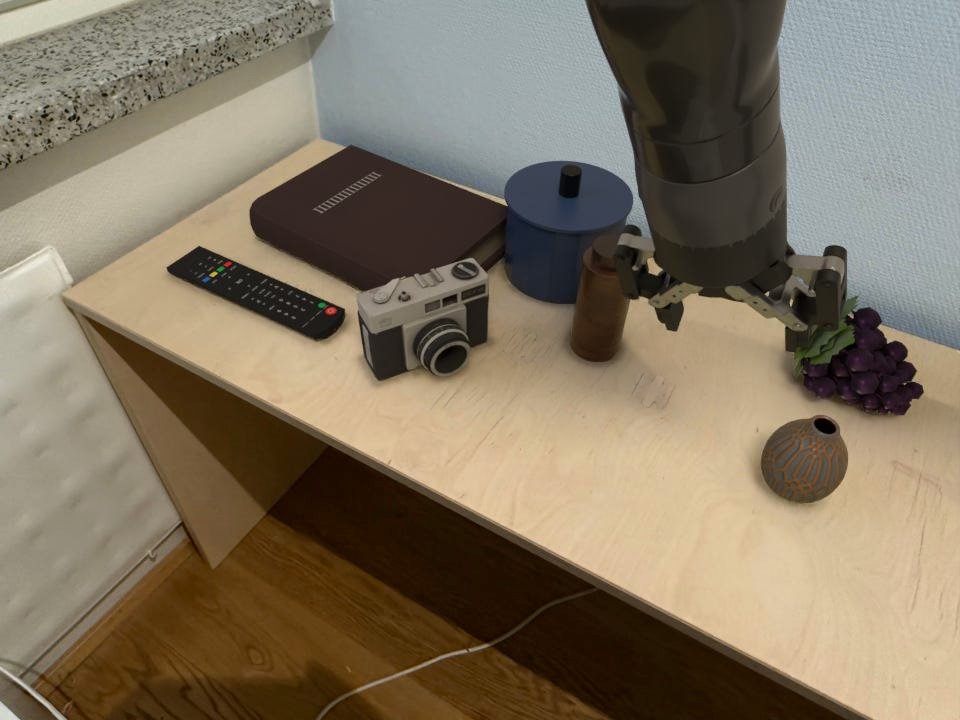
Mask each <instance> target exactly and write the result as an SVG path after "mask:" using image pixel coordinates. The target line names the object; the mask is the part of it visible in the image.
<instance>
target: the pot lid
mask: <svg viewBox="0 0 960 720" xmlns="http://www.w3.org/2000/svg"><path fill="white" fill-rule="evenodd" d="M503 192H504V193H503V195H504V196H503V197H504V201H505V204H506V206H508V207H509V208H510V210H511V211H512V212H513V213H514V214H515V215H516V216H518V217H519V218H520V219H522V220H523V221H525V222H527V223H529V224H531V225H533V226H536V227H539V228H541V229H545V230H549V231H553V232H559V233H568V234H584V233H593V232H598V231H603V230H606V229H609V228H611V227H614V226H616V225H617V224H619V223H621V222H622V221H623V220H624V219H626V218H627V219H628V216H629V215H630V214H631V212H632V210H633V206H634V194H633V191H632V189H631V188H630V185H628V183H627V182H626V181H624V180H623V179H622V178H621V177H620V176H618V175H616V174H615V173H613V172H612V171H610V170H608V169H605V168H603V167H600V166H598V165H595V164H590V163H586V162H582V161H581V162H580V161H572V160H551V161H550V160H549V161H543V162H542V161H541V162H537V163H534V164H530V165H527V166H525V167H523V168H521V169H519V170H517V171H516V172H515V173H513V174H512V175H511V176H510V177H509V178H508V180H507V181H506V184H505V186H504V191H503Z"/></svg>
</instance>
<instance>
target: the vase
mask: <svg viewBox="0 0 960 720" xmlns="http://www.w3.org/2000/svg"><path fill="white" fill-rule="evenodd" d="M848 466H849V450H848V447H847V444H846V443H845V440H844V439H843V437H842V434H841V427H840V425H839V423H838V422H837V420H835V419H834V418H832V417H831V416H829V415H824V414H816V415H814V416H812V417H809V418H808V417H807V418H799V419H793V420H791V421H788V422H786V423H784V424H782V425H780V427H778V428H777V429H776V430H775V431H774V432H773V433H772V434H771V435H770V436H769V437H768V439H767V440H766V442H765V444H764V446H763V449H762V452H761V455H760V471H761V475H762V477H763V479H764V480H763V481H765V483H766V485H767V487H768V488H769V489H770V490H771V491H772V492H773V493H774V494H776V495H777V496H778V497H780V498H781V499H784V500H786V501H788V502H791V503H795V504H812V503H813V504H814V503H816V502H820V501H821V500H823V499H825V498H827V497H829V496H830V495H832V494H833V493H834V492H835V491H836V490H837V489H838V488H839V486H840V485H841V484H842V482H843V480H844V479H845V477H846V475H847V471H848Z"/></svg>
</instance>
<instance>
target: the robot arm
mask: <svg viewBox="0 0 960 720" xmlns="http://www.w3.org/2000/svg"><path fill="white" fill-rule="evenodd" d="M787 1H788V0H584V3H585V6H586V10H587V13H588V15H589V19H590V21H591V24H592V28H593V30H594V33H595V36H596V38H597V40H598V44H599V46H600V48H601V50H602V53H603V55H604V57H605V59H606V62H607V64H608V67H609V69H610V71H611V73H612V75H613V77H614V79H615V81H616V85H617V86H616V87H617V93H618V99H619V103H620V109H621V112H622V115H623V119H624V123H625V127H626V130H627V133H628V137H629V141H630V144H631V148H632V153H633V160H634V161H633V162H634V174H635V175H634V176H635V180H636V181H635V182H636V185H637V194H638V198H639V199H640V201H641V205H642V208H643V212H644V215H645V219H646V222H647V227H648V229H649V232H650V236H651V237H647V236H643V234H642V233H643V232H642V230H641V228H640V227H639V226H637V225H634V224H631V223H630V224H625V226H624V229H623V231H622V234H621V236H620V238H619V241H618V243H617V246H616V249H615V251H614V254H613V261H614V264H615V268H616V271H617V275H618V278H619V282H620V286H621V289H622V293H623V295H624V296H625V297H626V298H628V299H630V301H637V300H639V299H640V297H641V298H644V299H647V304H648V305H649V306H651V307H652V308H653V309H654V312H655V315H656V318H657V320H658V321H659V323H661V324H664V326H665V329H666V331H669V332H674V333H676V332H678V330H679V328H680V326H681V325H680V324H681V322H682V319H683V316H684V312H685V306H684V302H683V300H684V299H686V298H687V297H689V296H690V295H693V294H695V295H696V294H697V295H698V297H704V298H708V299H709V298H710V299H712V298H713V299H715V298H716V299H719V298H720V299H725V300H728V301H732V302H736V303H744V304H745V305H747V306H749V307H750V308H751V309H753V310H754V311H755V312H757V313H758V314H759V315H760V316H762V317H763V318H765V319H766V320H769V319H774V318H775V319H777V320H778V321H779V322H781V323H782V324H783V325H785V326H784V352H787V353H793V354H794V353H796V352H797V348H798V347H801V348H805V347H807V346H808V343H809V340H810V336H811V332H812V329H813V325H818V327H819V328H820V329H822V330H825V331H837V330H838V328H839V325H840V321H841V317H842V313H843V309H844V305H845V302H846V300H847V299H848V298H847V297H848V250H847V249H846V248H845V247H844V246H842V245H837V244H831V245H827V246H825V248H824V250H823V253H822V256H821V255H811V254H798V253H796V251H795V249H794V248H793V247H792V246H791V245H790V244H789V241H788V188H787V187H788V177H787V176H788V174H787V173H788V169H787V168H788V163H787V159H788V158H787V157H788V156H787V142H786V138H785V134H784V128H783V125H782V124H783V123H782V119H781V118H782V116H781V69H780V55H779V54H780V53H779V46H778V43H779V41H780V37H781V32H782V30H783V24H784V18H785V12H786V7H787ZM649 259H653V261H654V263H655V264H656V266H657V267H658V268H660V269H661V270H660V271H659V272H658V274H655V273H650V268H649V264H648V263H649V262H648V261H649ZM798 278H800V279H801V280H802V281H803V283H804V284H802V283H801V282H800V281H799V279H798ZM806 286H807V287H808V288H807V287H806ZM767 293H768V294H767ZM791 300H792V302H791Z"/></svg>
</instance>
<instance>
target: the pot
mask: <svg viewBox="0 0 960 720" xmlns="http://www.w3.org/2000/svg"><path fill="white" fill-rule="evenodd" d="M506 206H507V205H506ZM627 219H628V217H627V218H626V219H624V220H623V221H622V222H621V223H619V224H617V225H616V226H614V227H611V228H609V229H606V230H603V231H598V232H593V233H584V234H568V233H559V232H553V231H549V230H545V229H541V228H539V227H536V226H533V225H531V224H529V223H527V222H525V221H523V220H522V219H520V218H519V217H518V216H516V215H515V214H514V213H513V212H512V211H511V210H510V208H509V207H508V206H507V224H506V243H505V256H504V263H503V264H504V265H503V268H504V272H505V275H506V278H507V279H508V281H509V282H510V284H512V286H514V288H516V289H517V290H519V292H521V293H523V294H524V295H526V296H528V297H530V298H533V299H535V300H538V301H542V302H545V303H551V304H559V305H560V304H561V305H568V304H569V305H570V304H571V305H573V304H576V298H577V292H578V286H579V280H580V273H581V267H582V261H583V255H584V253H585V251H586V250H587V249H588V248H590V247H592V246H593V243H594V241H595V240H596V239H597V238H599V237H601V236H605V235H616V236H621V234H622V231H623V229H624V226H625V225H627V221H628V220H627Z"/></svg>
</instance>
